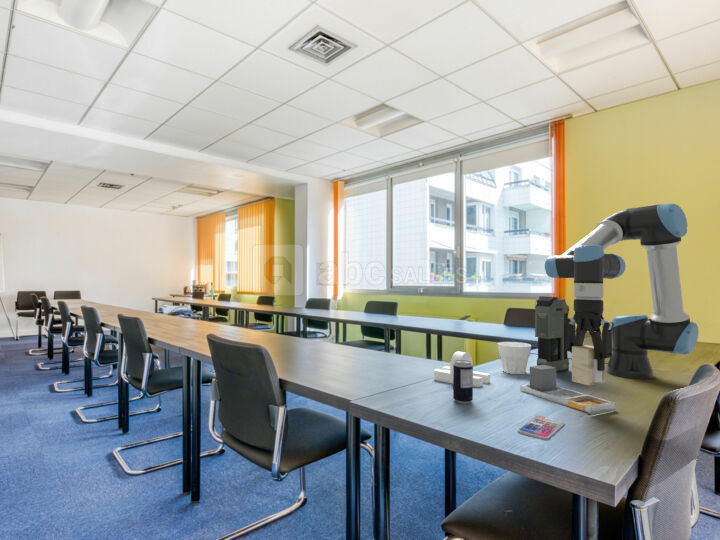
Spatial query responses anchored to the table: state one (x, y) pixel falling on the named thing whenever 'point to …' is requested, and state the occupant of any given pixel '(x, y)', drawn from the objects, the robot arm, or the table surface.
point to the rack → (573, 399)
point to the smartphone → (541, 428)
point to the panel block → (583, 365)
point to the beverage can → (463, 381)
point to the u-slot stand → (447, 371)
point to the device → (551, 332)
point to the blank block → (543, 377)
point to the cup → (514, 356)
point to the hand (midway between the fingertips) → (588, 379)
